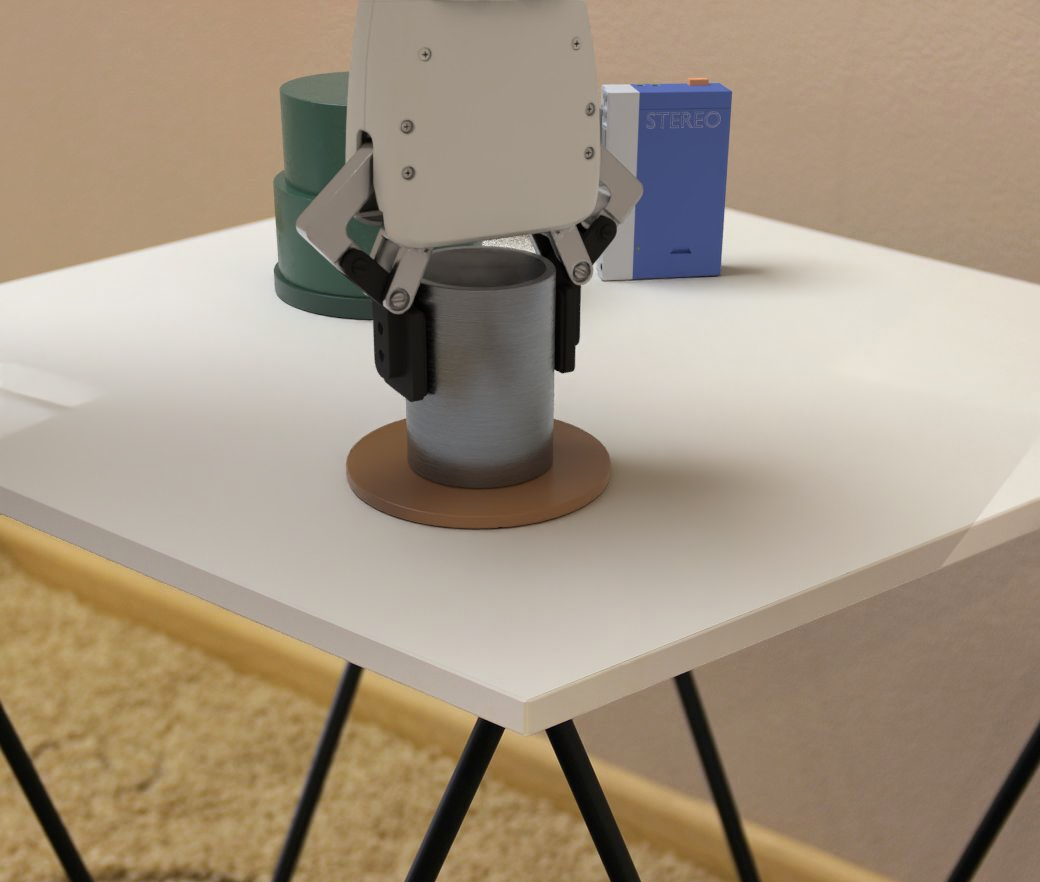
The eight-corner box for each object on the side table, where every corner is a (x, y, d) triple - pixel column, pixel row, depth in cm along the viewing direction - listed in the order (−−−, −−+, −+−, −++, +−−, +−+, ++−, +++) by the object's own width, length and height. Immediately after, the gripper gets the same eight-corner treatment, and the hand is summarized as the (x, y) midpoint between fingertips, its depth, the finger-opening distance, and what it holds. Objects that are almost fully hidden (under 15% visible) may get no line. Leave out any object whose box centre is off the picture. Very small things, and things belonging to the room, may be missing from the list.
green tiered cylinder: (229, 294, 92) (213, 91, 86) (360, 244, 102) (353, 60, 97) (407, 334, 86) (401, 119, 81) (526, 276, 96) (528, 83, 91)
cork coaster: (291, 487, 67) (290, 475, 67) (443, 402, 77) (443, 391, 77) (523, 554, 62) (523, 541, 62) (655, 453, 72) (656, 442, 72)
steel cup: (378, 467, 68) (370, 273, 64) (459, 420, 73) (457, 237, 69) (503, 501, 65) (503, 300, 61) (579, 449, 70) (583, 260, 67)
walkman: (708, 263, 100) (719, 76, 95) (720, 276, 98) (733, 85, 92) (591, 268, 98) (596, 78, 93) (600, 280, 96) (606, 86, 91)
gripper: (613, -65, 67) (602, 323, 75) (230, -52, 59) (262, 382, 66) (712, -47, 61) (689, 372, 69) (302, -30, 53) (328, 443, 61)
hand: (479, 373), depth 68 cm, fingers closed on steel cup, 6 cm apart
